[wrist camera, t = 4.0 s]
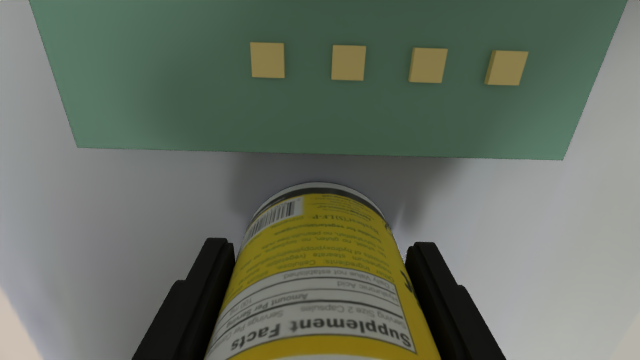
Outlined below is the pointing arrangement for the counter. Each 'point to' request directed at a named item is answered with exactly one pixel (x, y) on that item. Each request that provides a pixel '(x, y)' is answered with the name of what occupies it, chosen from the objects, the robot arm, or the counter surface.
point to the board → (328, 74)
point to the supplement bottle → (320, 285)
